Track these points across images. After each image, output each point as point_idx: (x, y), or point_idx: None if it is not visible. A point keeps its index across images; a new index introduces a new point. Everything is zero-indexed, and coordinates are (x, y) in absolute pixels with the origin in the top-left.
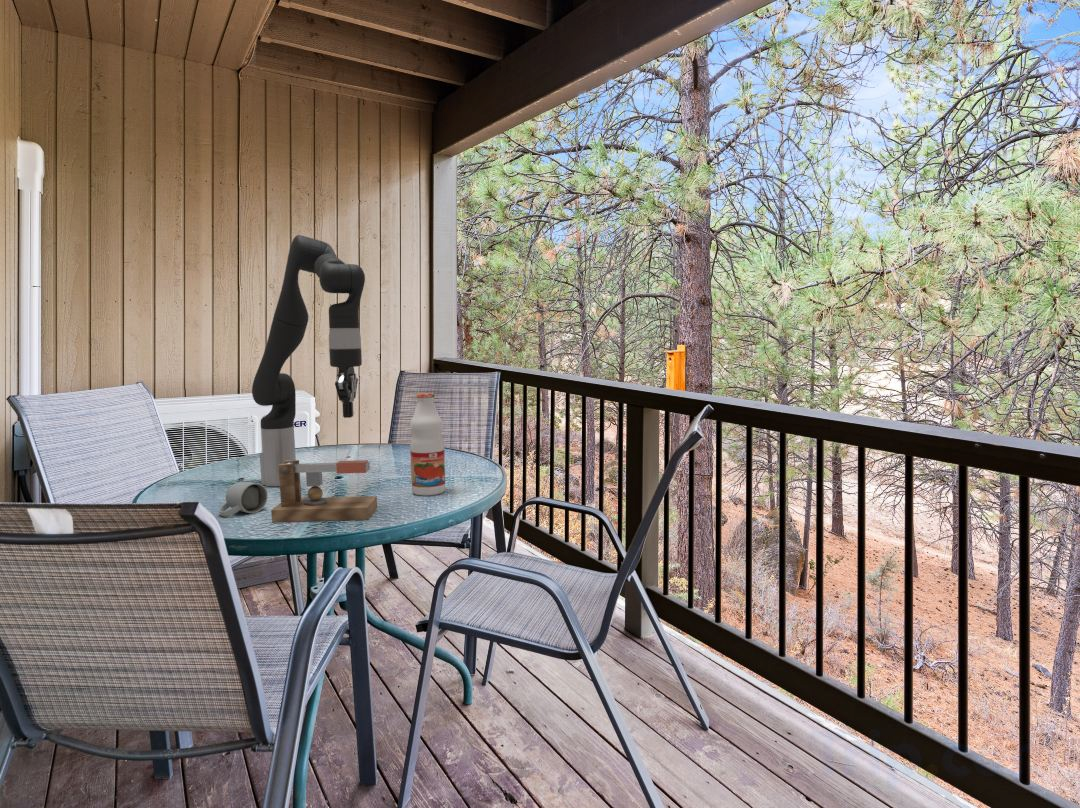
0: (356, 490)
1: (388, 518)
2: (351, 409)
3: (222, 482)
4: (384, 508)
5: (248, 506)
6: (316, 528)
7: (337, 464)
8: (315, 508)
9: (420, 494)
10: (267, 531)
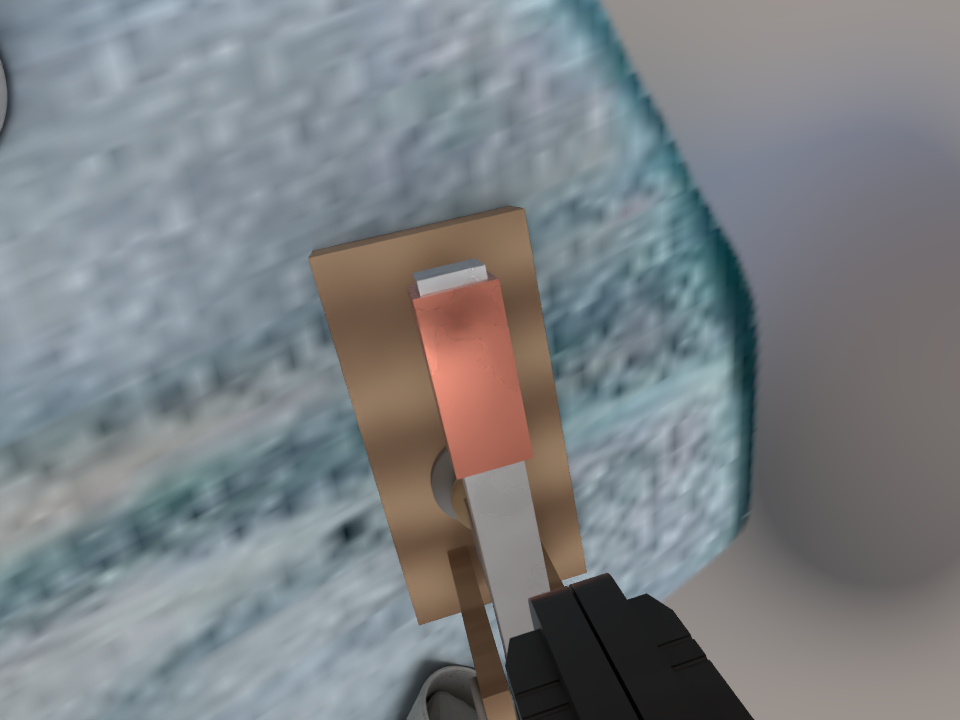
0: (14, 508)
1: (481, 117)
2: (655, 652)
3: None
4: (321, 208)
5: (468, 706)
6: (631, 355)
7: (531, 447)
8: (554, 430)
9: (6, 95)
10: (666, 495)
